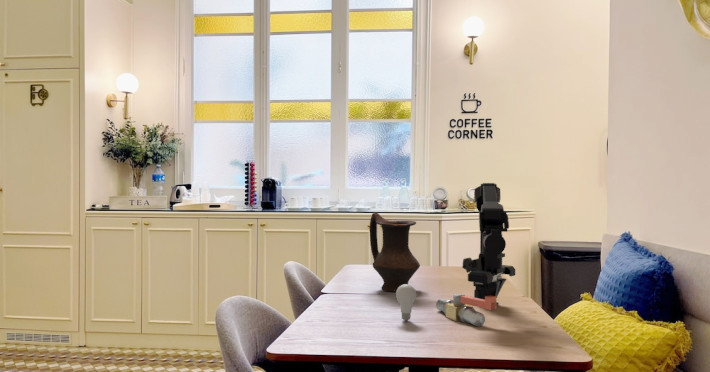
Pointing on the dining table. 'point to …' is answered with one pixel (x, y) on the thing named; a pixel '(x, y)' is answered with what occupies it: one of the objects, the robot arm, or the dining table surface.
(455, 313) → the valve
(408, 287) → the lightbulb
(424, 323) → the dining table surface
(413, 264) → the jug
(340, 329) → the dining table surface
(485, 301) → the lever
